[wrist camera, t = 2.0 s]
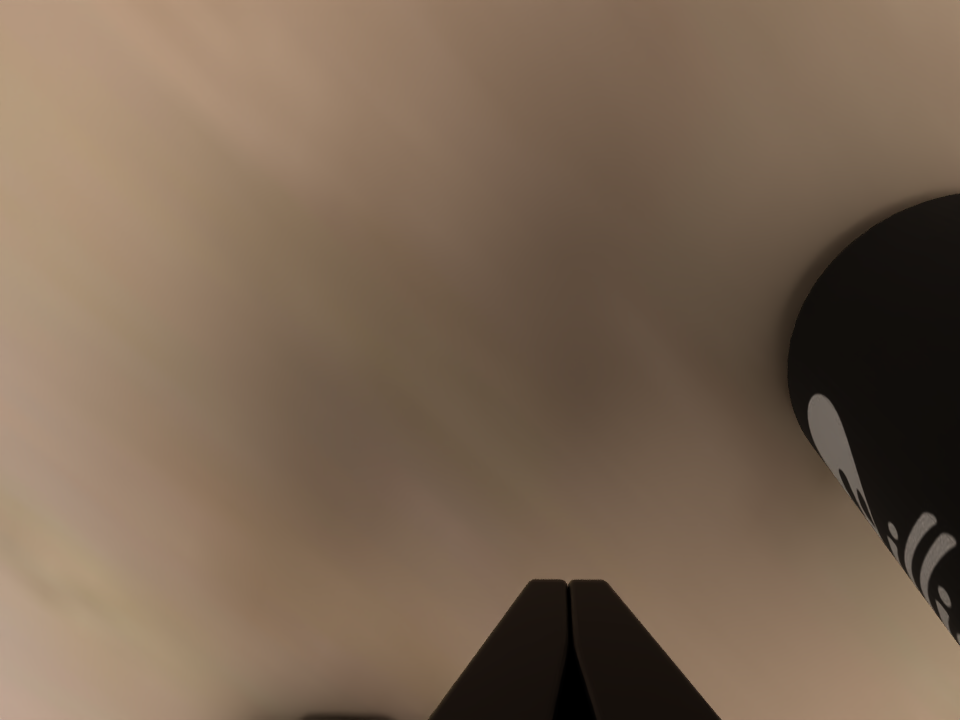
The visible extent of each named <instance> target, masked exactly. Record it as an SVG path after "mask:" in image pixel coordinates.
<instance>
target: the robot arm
mask: <svg viewBox="0 0 960 720" xmlns="http://www.w3.org/2000/svg"><path fill="white" fill-rule="evenodd" d="M428 720H721V719H720V717H719V716H718V715H717V714H716V713H715V711H714V710H713V709H712V708H711V707H710V705H709V704H708V703H707V702H706V701H705V699H704V698H703V697H702V696H701V695H700V693H699V692H698V691H697V690H696V689H695V687H694V686H693V685H692V684H691V683H690V681H689V680H688V679H687V678H686V677H685V675H684V674H683V673H682V672H681V671H680V669H679V668H678V667H677V666H676V665H675V663H674V662H673V661H672V660H671V659H670V657H669V656H668V655H667V654H666V653H665V651H664V650H663V649H662V648H661V647H660V645H659V644H658V643H657V642H656V641H655V639H654V638H653V637H652V636H651V634H650V633H649V632H648V631H647V630H646V628H645V627H644V626H643V625H642V624H641V622H640V621H639V620H638V619H637V618H636V616H635V615H634V614H633V613H632V612H631V610H630V609H629V608H628V607H627V606H626V604H625V603H624V602H623V601H622V600H621V598H620V597H619V596H618V595H617V594H616V592H615V591H614V590H613V589H612V588H611V586H610V585H609V584H608V583H607V582H606V581H604V580H572V581H570V583H569V584H568V586H567V583H566V582H565V581H564V580H561V579H533V580H531V581H529V583H528V584H527V585H526V587H525V588H524V589H523V591H522V592H521V593H520V595H519V596H518V597H517V599H516V600H515V602H514V603H513V604H512V606H511V607H510V608H509V610H508V611H507V612H506V614H505V615H504V617H503V618H502V619H501V621H500V622H499V623H498V625H497V626H496V627H495V629H494V630H493V632H492V633H491V634H490V636H489V637H488V638H487V640H486V641H485V642H484V644H483V645H482V647H481V648H480V649H479V651H478V652H477V653H476V655H475V656H474V658H473V659H472V660H471V662H470V663H469V664H468V666H467V667H466V668H465V670H464V671H463V673H462V674H461V675H460V677H459V678H458V679H457V681H456V682H455V683H454V685H453V686H452V688H451V689H450V690H449V692H448V693H447V694H446V696H445V697H444V698H443V700H442V701H441V703H440V704H439V705H438V707H437V708H436V709H435V711H434V712H433V713H432V715H431V716H430V718H429V719H428Z"/></svg>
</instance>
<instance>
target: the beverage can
mask: <svg viewBox="0 0 960 720" xmlns="http://www.w3.org/2000/svg"><path fill="white" fill-rule="evenodd" d="M788 387H789V393H790V398H791V403H792V406H793V410H794V413H795V415H796V418H797V420H798V423H799V425H800V427H801V429H802V431H803V432H804V434H805V436H806V437H807V439H808V440H809V442H810V443H811V445H812V446H813V447H814V449H815V450H816V451H817V453H818V454H819V455H820V457H821V458H822V460H823V461H824V462H825V464H826V465H827V466H828V468H829V469H830V470H831V472H832V473H833V474H834V476H835V477H836V479H837V480H838V481H839V483H840V484H841V485H842V487H843V488H844V489H845V491H846V492H847V493H848V495H849V496H850V498H851V499H852V500H853V502H854V503H855V504H856V506H857V507H858V508H859V510H860V511H861V512H862V514H863V515H864V517H865V518H866V519H867V521H868V522H869V523H870V525H871V526H872V527H873V529H874V530H875V531H876V533H877V534H878V536H879V537H880V538H881V540H882V541H883V542H884V544H885V545H886V546H887V548H888V549H889V550H890V552H891V553H892V555H893V556H894V557H895V559H896V560H897V561H898V563H899V564H900V565H901V567H902V568H903V569H904V571H905V572H906V574H907V575H908V576H909V578H910V579H911V580H912V582H913V583H914V584H915V586H916V587H917V588H918V590H919V591H920V593H921V594H922V595H923V597H924V598H925V599H926V601H927V602H928V603H929V605H930V606H931V607H932V609H933V610H934V612H935V613H936V614H937V616H938V617H939V618H940V620H941V621H942V622H943V624H944V625H945V626H946V628H947V629H948V631H949V632H950V633H951V635H952V636H953V637H954V639H955V640H956V641H957V643H958V644H959V645H960V194H955V195H949V196H945V197H941V198H937V199H933V200H930V201H927V202H924V203H921V204H918V205H916V206H913V207H910V208H908V209H905V210H903V211H901V212H899V213H896V214H894V215H893V216H891V217H889V218H887V219H886V220H884V221H882V222H880V223H879V224H877V225H875V226H873V227H872V228H871V229H869V230H868V231H867V232H865V233H864V234H862V235H861V236H860V237H858V238H857V239H856V240H854V241H853V242H852V243H851V244H850V245H849V246H848V247H846V248H845V249H844V250H843V251H842V252H841V253H840V254H839V255H838V256H837V257H836V258H835V259H834V260H833V261H832V262H831V263H830V265H829V266H828V267H827V268H826V270H825V271H824V272H823V274H822V275H821V276H820V278H819V279H818V280H817V282H816V283H815V284H814V286H813V288H812V290H811V291H810V293H809V295H808V296H807V298H806V300H805V302H804V304H803V306H802V308H801V311H800V313H799V315H798V318H797V320H796V323H795V326H794V330H793V333H792V337H791V340H790V348H789V355H788Z"/></svg>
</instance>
